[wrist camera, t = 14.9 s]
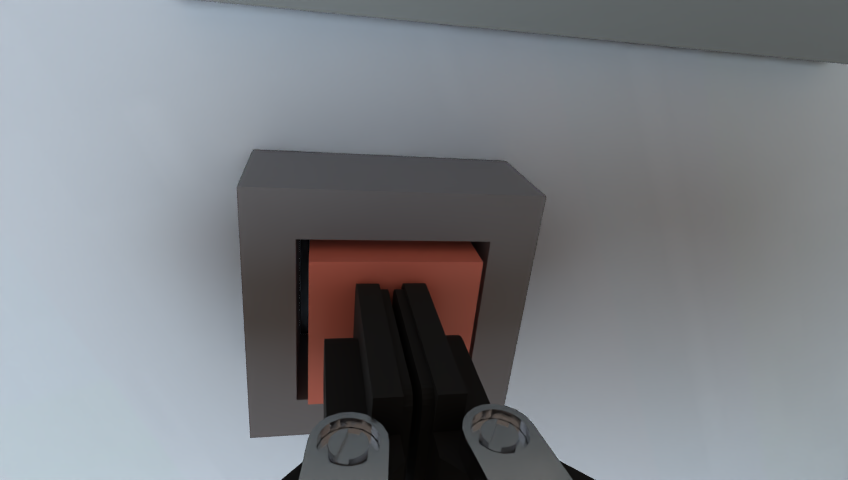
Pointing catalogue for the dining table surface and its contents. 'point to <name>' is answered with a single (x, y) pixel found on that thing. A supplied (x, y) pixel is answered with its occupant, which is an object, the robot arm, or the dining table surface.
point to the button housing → (373, 220)
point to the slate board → (630, 21)
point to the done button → (386, 287)
